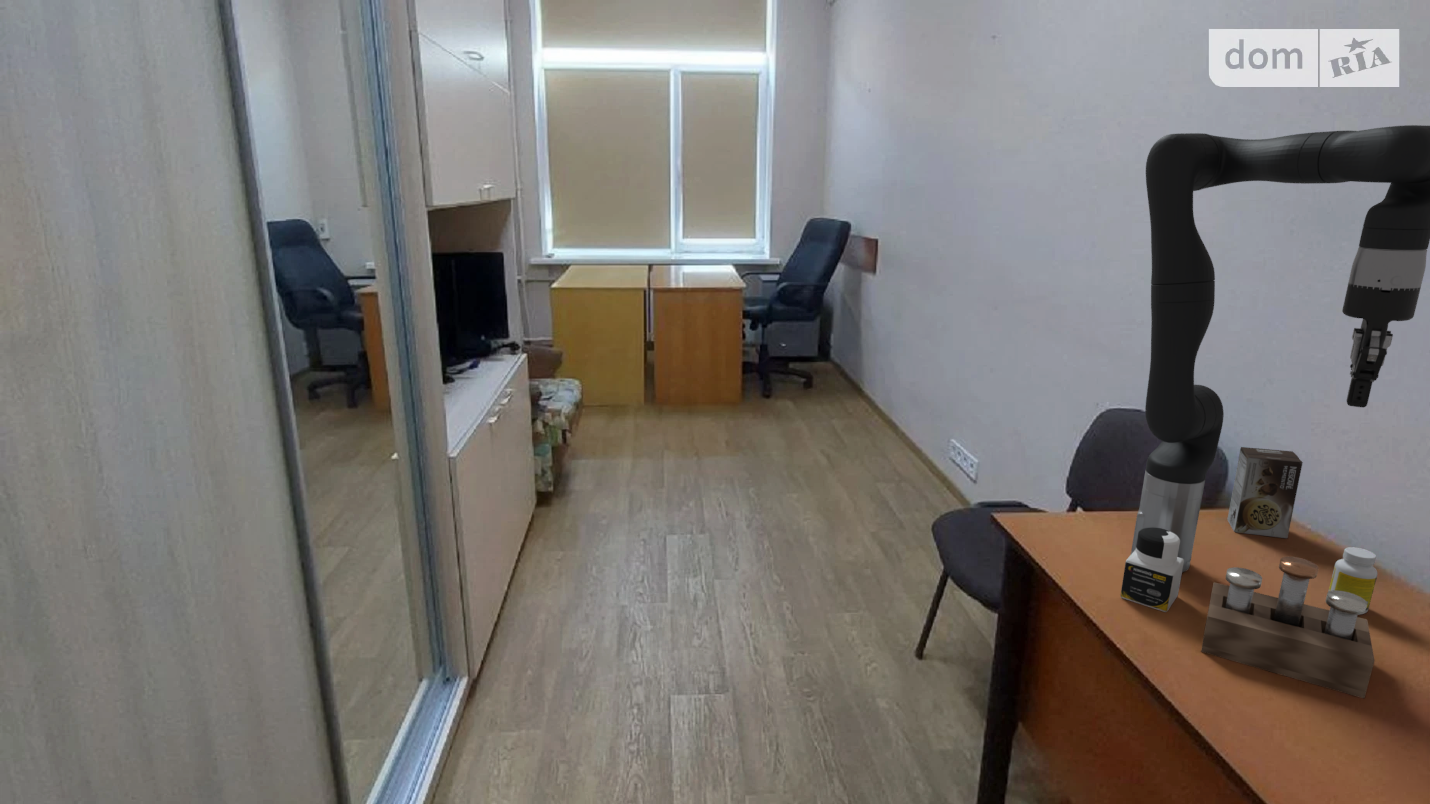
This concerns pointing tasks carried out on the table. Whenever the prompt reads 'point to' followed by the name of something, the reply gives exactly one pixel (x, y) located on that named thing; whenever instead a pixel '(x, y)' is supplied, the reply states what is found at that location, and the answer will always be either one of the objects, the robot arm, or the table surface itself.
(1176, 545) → the medicine bottle
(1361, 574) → the supplement bottle
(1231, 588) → the knob left
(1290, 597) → the copper and grey cylinder
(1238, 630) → the mount
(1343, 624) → the knob right
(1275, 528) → the coffee box
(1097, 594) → the table surface
